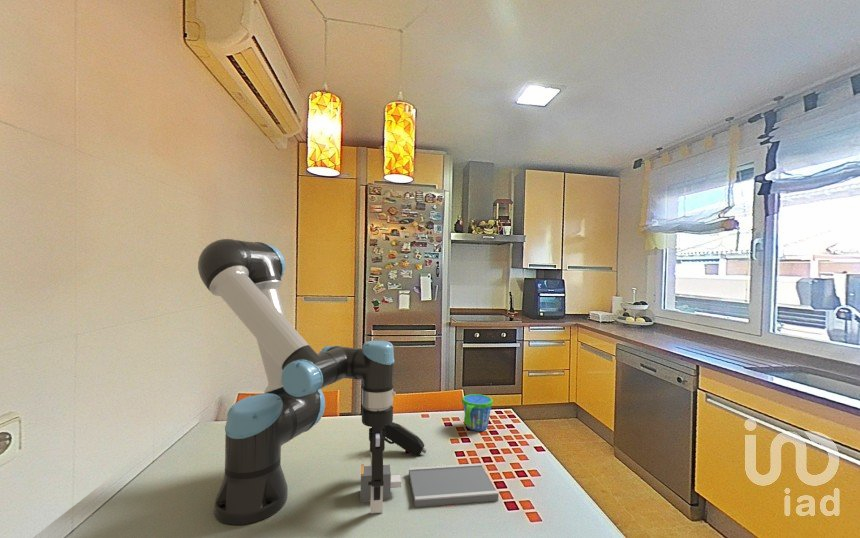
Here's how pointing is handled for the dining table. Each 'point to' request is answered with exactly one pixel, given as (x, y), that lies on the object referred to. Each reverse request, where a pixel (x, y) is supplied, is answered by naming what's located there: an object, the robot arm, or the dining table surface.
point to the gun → (404, 439)
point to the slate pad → (451, 485)
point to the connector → (389, 482)
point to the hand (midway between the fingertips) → (376, 494)
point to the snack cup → (477, 411)
